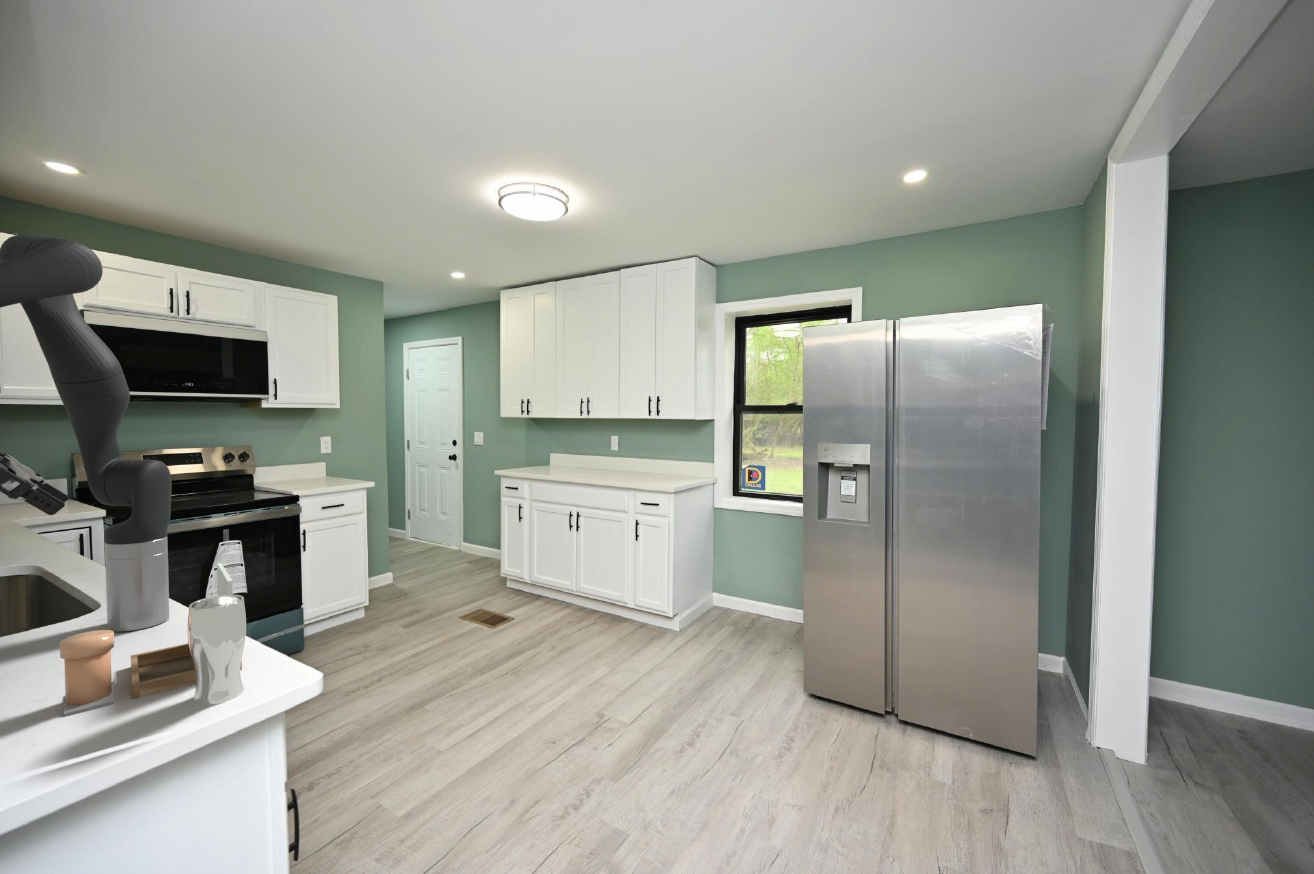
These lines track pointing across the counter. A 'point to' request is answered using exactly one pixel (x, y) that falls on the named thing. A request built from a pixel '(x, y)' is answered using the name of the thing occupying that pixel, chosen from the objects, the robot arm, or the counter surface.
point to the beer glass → (217, 647)
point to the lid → (223, 581)
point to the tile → (90, 704)
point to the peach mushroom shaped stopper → (87, 666)
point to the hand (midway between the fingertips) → (61, 506)
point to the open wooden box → (162, 670)
